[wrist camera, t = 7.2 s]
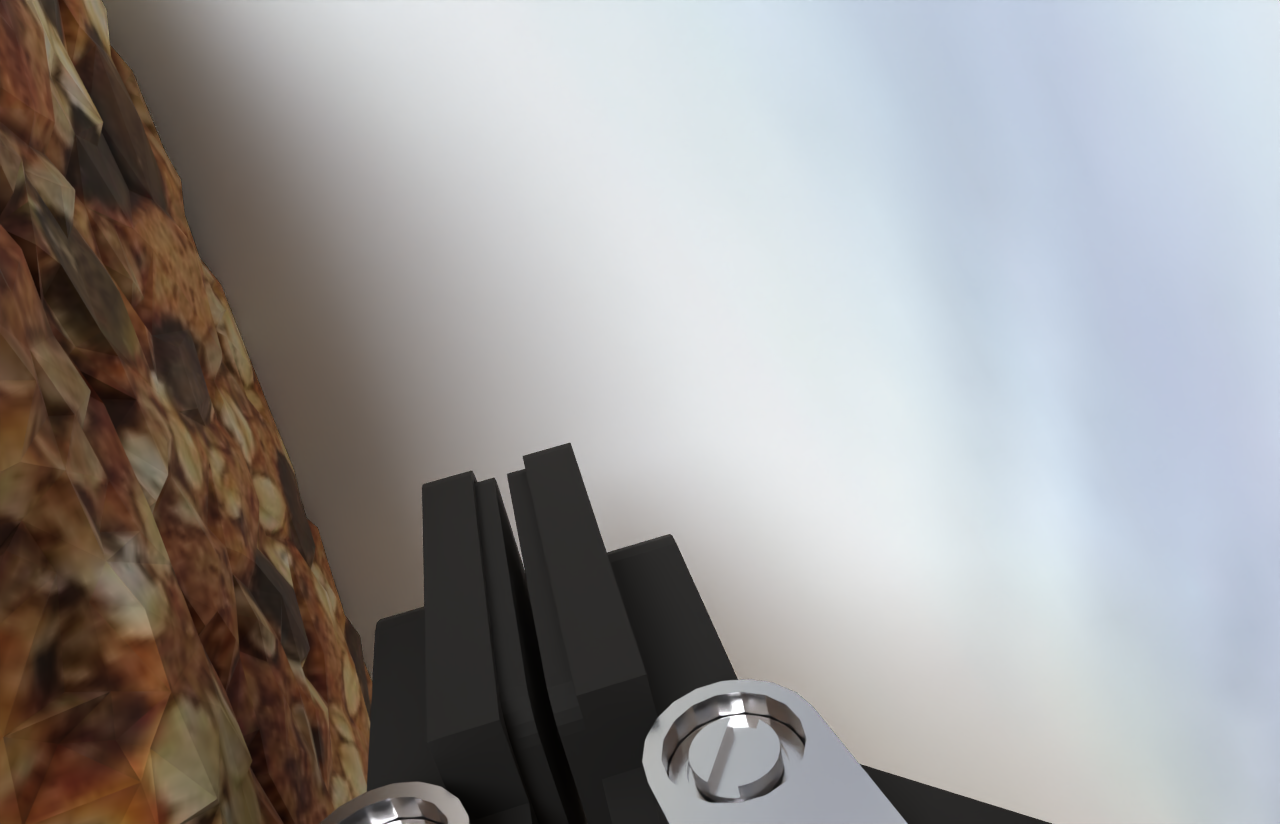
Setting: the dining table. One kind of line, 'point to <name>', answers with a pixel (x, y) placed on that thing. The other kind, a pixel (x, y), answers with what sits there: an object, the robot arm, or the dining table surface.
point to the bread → (144, 488)
